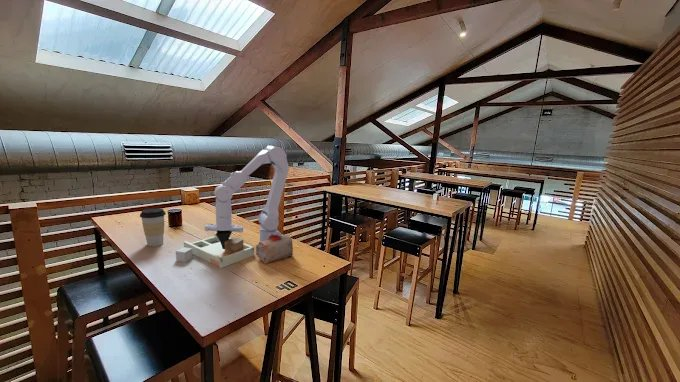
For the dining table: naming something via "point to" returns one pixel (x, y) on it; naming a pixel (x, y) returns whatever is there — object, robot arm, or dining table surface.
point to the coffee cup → (153, 225)
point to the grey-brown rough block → (274, 248)
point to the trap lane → (218, 252)
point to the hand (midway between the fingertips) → (224, 248)
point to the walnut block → (233, 245)
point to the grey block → (184, 254)
